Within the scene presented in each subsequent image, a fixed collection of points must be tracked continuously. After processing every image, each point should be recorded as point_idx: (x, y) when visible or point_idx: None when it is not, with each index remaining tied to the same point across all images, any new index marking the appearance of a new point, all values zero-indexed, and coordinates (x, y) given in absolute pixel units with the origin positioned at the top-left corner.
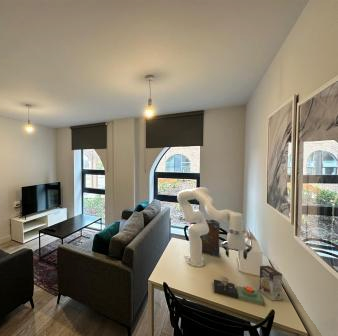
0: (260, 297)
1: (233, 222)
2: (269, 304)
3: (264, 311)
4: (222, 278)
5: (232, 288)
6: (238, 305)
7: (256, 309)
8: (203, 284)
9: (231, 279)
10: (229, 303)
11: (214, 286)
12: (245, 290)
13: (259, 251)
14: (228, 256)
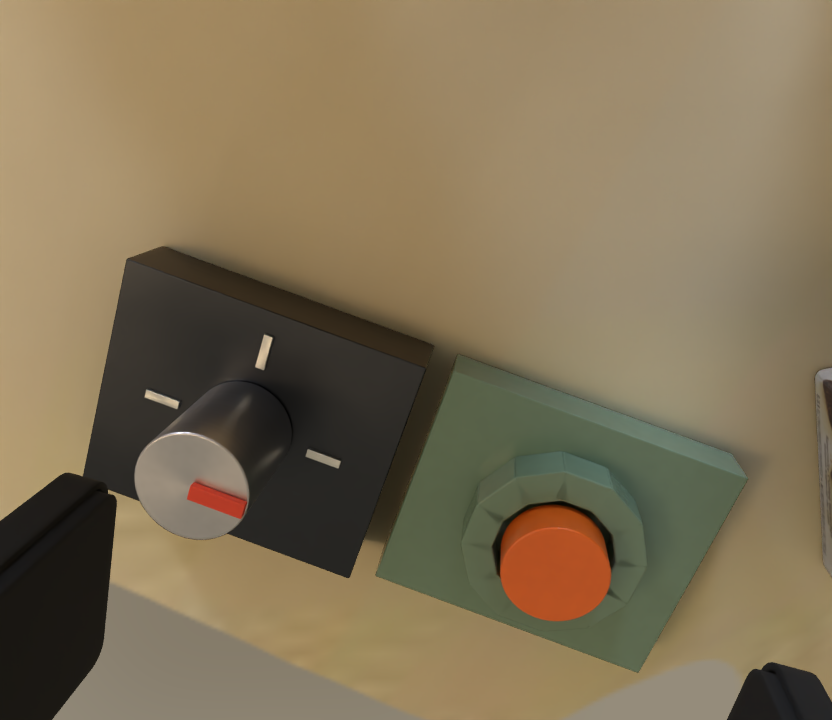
0: (657, 605)
1: None
2: (723, 622)
3: (573, 709)
4: (153, 487)
5: (341, 474)
6: (329, 633)
7: (501, 684)
8: (11, 279)
9: (511, 103)
10: (240, 607)
11: (94, 438)
12: (501, 543)
13: None
14: (65, 684)
